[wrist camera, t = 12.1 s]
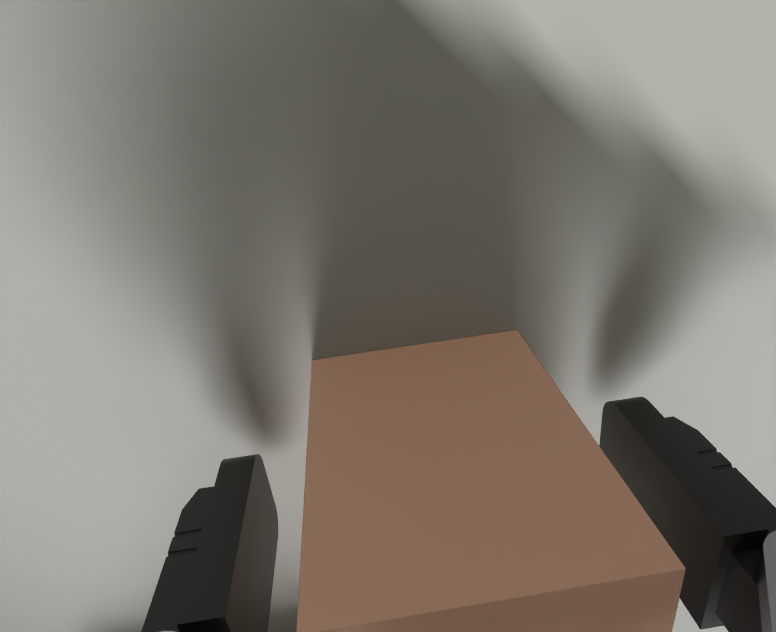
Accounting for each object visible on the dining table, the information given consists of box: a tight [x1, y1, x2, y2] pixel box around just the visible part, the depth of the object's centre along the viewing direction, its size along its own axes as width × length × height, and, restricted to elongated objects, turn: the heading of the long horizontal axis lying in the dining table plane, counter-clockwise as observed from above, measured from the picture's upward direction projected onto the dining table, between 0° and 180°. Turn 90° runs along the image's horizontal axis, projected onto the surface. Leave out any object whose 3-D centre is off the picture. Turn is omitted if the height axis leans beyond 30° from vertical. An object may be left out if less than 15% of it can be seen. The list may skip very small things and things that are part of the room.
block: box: [296, 330, 686, 632], centre depth 10 cm, size 4×4×6 cm
